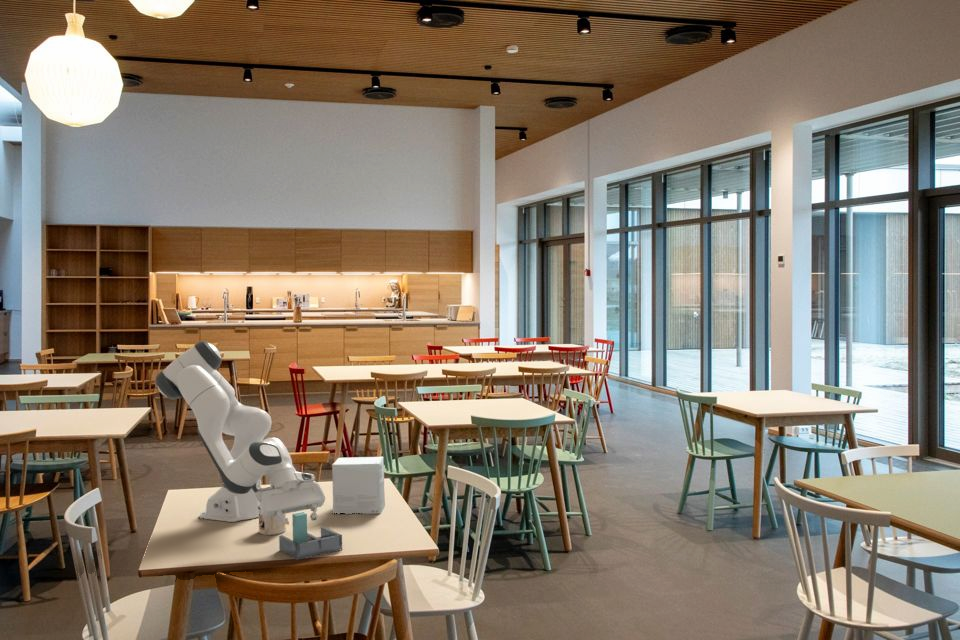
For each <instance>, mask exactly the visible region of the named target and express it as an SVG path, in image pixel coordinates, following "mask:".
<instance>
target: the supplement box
mask: <svg viewBox="0 0 960 640" xmlns="http://www.w3.org/2000/svg"><path fill="white" fill-rule="evenodd" d="M331 469H332V470H331V473H332V477H331V478H332V514H333V515H340V513H345V514H344V515H353V514H352V513H355V514H354V515H357V514H358V513H360V514H359V515H364V514H365V515H370V514H371V515H372V514H374V515H375V514H381V513H382V511H383V510H384V508H385V505H386V499H385V498H386V497H385V495H386V494H385V492H386V491H385V464H384V456H358V457H357V456H355V457H352V456H351V457H338V458H337V459H336V460H335V461H334V463H332V464H331ZM334 513H335V514H334ZM336 513H337V514H336ZM356 513H357V514H356ZM361 513H362V514H361Z"/></svg>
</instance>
